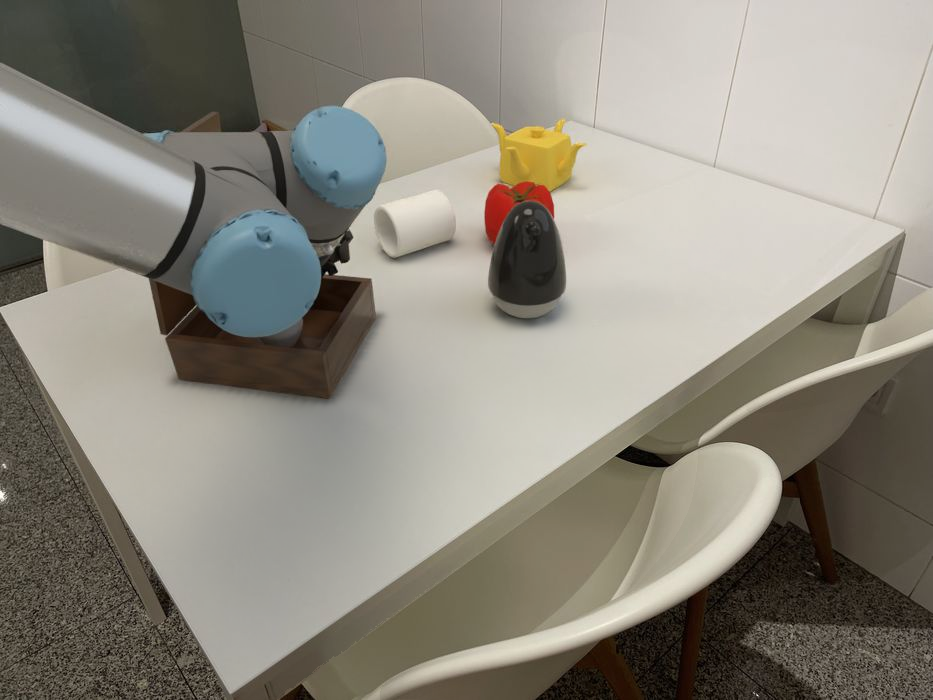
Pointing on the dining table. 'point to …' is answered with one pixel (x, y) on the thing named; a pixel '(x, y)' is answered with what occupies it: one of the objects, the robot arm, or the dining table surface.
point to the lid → (168, 299)
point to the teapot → (536, 155)
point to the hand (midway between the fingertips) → (264, 297)
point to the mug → (414, 223)
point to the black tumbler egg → (527, 262)
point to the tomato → (511, 203)
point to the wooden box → (275, 367)
